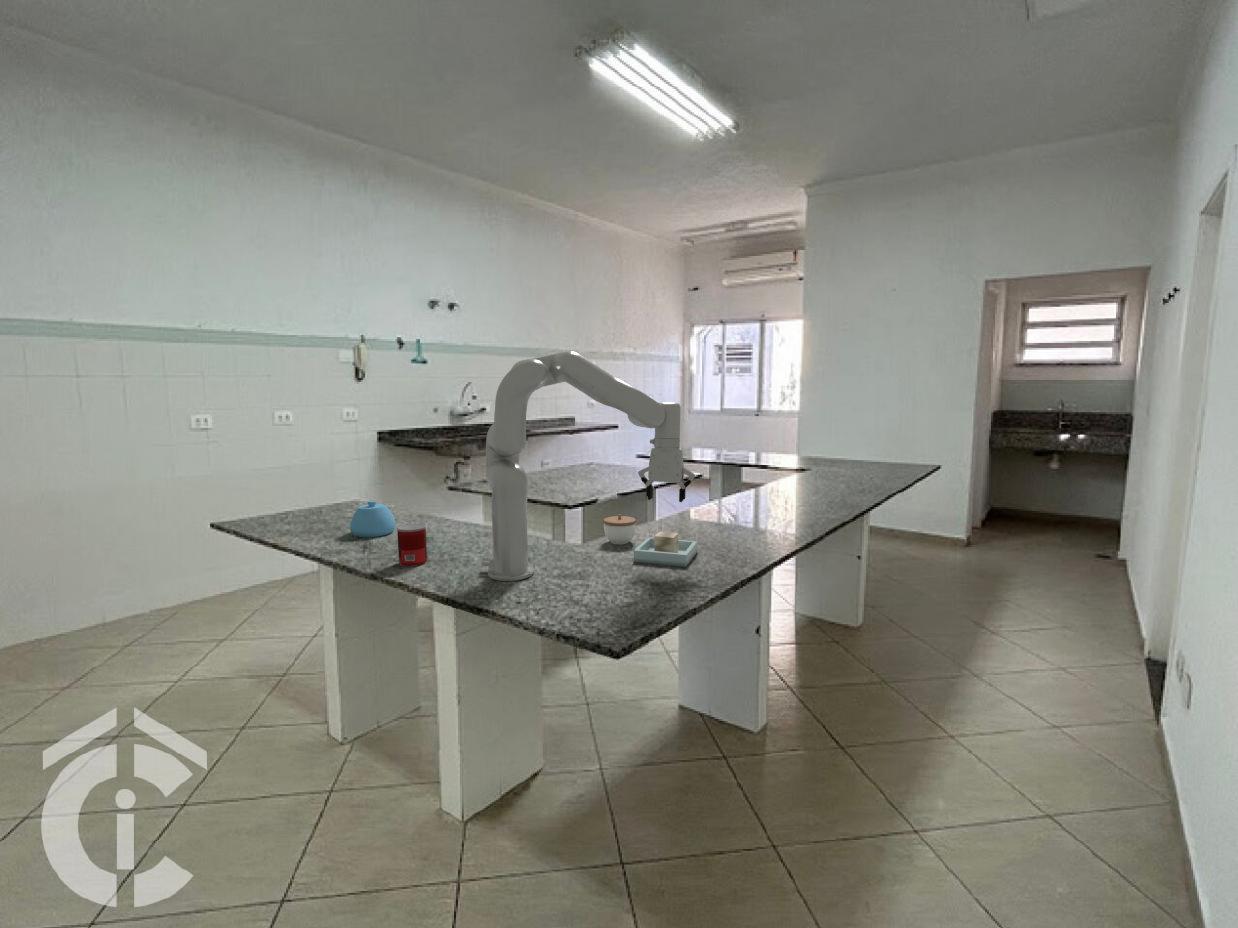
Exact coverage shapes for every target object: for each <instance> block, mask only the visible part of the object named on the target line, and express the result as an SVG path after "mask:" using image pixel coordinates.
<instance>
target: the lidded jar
mask: <svg viewBox="0 0 1238 928" xmlns="http://www.w3.org/2000/svg"><path fill="white" fill-rule="evenodd" d="M636 522H637V520H636V518H635V517H632V516H624V515H622V514H620V513H619V514H617V515H615V516H614V515H613V516H608V517H606V518H603V529H604V534H605V537H606V538H607V540H608V542H609V541H610V543H611V544H613V545H626V544H629V543H630V541H631V540H632V539H633V538H634V536H635V533H636V532H635V531H636Z"/></svg>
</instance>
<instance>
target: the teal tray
mask: <svg viewBox="0 0 1238 928" xmlns="http://www.w3.org/2000/svg"><path fill="white" fill-rule="evenodd" d="M697 553H698V541H697V540H686V539H678V553H671V552H659V551H654V537H646V538H645V540H643V541H642V542H641V543H640V544H639V545H638V546H636V548H635V549H634V550H633V562H634V563H641V564H643V563H644V564H654V565H665V566H673V567H674V566H675V567H684V568H685V567H688V566H689V564H690V563H691V562H692V560H693V558H695V556H696V555H697Z"/></svg>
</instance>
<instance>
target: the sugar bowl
mask: <svg viewBox="0 0 1238 928" xmlns="http://www.w3.org/2000/svg"><path fill="white" fill-rule="evenodd" d="M366 503H367V504H364V505H360V506H358V508H357V509H356V511H355V512H354V513H353V516H352V517H351V520H350V525H349V530H350V532H351V533H352V534H353V535H354V536H355V537H357V538H376V537H377V538H378V537H382V536H384V537H385V536H386V535H390V534H392V533H393V531H394V530H395V529H396V525H397V524H396V520H395V517H394V515H393V512H391V510H390V509H389V508H388V507H387V505H385V504H384V503H377V500H368V501H366Z"/></svg>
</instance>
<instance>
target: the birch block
mask: <svg viewBox="0 0 1238 928" xmlns="http://www.w3.org/2000/svg"><path fill="white" fill-rule="evenodd" d="M653 538H654V551H659V552H671V553H678V540H679V533H678V532H669V531H658V532H657V533H656V534H655V535H654V537H653Z"/></svg>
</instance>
